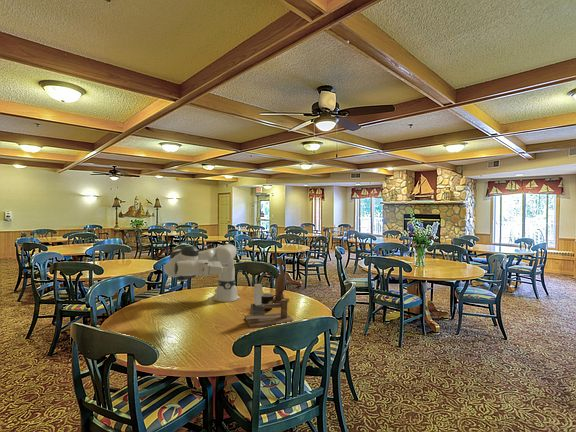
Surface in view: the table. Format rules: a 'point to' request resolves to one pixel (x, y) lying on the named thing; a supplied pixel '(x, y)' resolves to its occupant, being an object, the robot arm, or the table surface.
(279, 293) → the bird sculpture
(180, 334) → the table surface
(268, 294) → the coffee mug
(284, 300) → the cup bracket
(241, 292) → the table surface
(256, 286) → the rail
